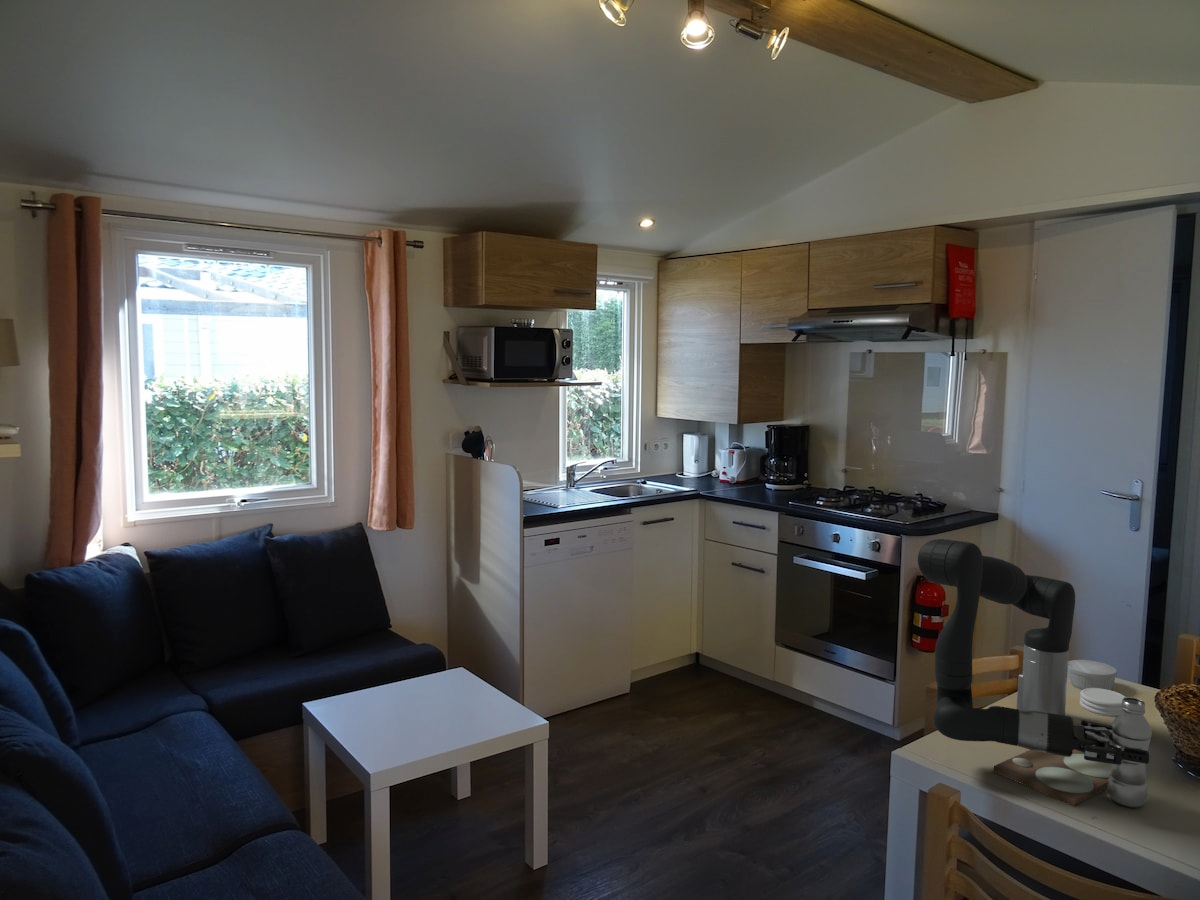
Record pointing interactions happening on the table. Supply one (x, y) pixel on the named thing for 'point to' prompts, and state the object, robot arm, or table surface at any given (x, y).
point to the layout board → (1058, 774)
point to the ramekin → (1091, 674)
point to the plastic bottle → (1130, 775)
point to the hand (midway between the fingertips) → (1146, 749)
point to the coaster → (1101, 701)
